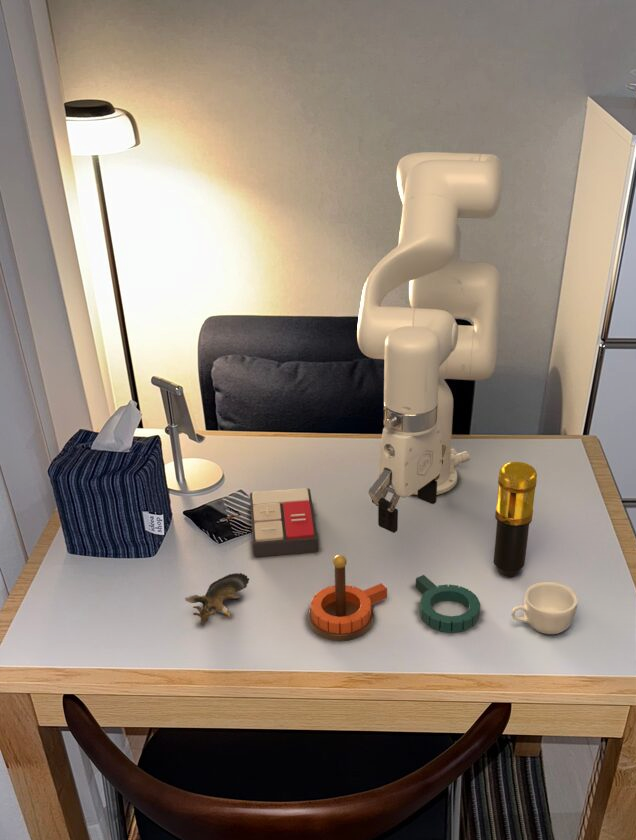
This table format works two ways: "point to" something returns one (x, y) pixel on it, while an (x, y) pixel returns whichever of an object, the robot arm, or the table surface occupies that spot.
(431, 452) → the robot arm
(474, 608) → the teal ring
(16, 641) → the table surface
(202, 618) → the eagle figurine
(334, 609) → the peg stand
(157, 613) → the table surface
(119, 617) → the table surface
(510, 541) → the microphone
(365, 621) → the orange ring
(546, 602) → the teacup
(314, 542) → the calculator
